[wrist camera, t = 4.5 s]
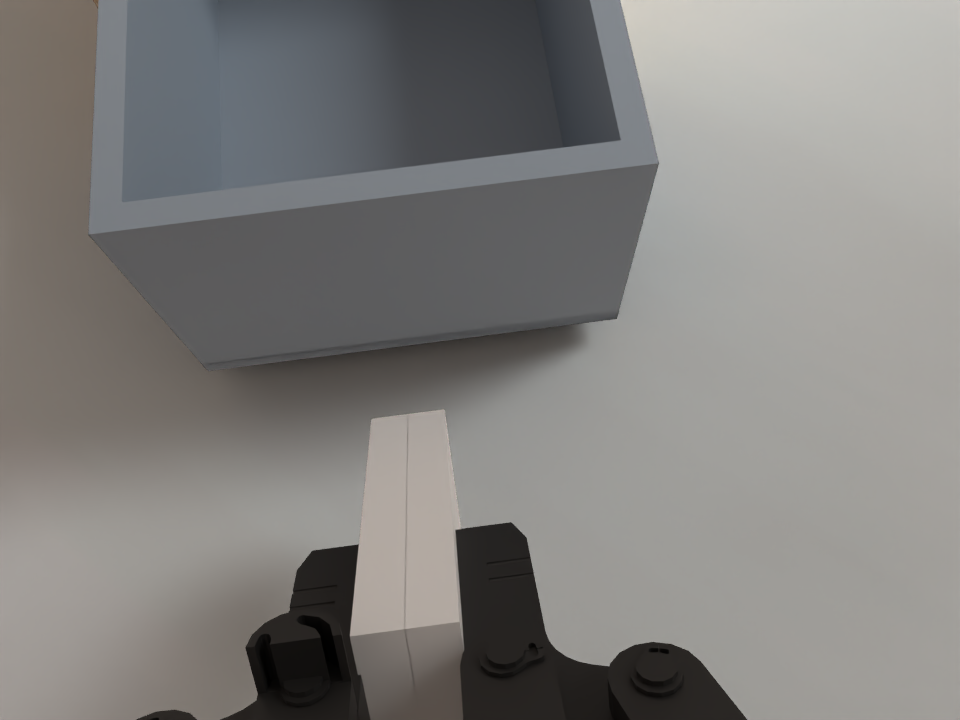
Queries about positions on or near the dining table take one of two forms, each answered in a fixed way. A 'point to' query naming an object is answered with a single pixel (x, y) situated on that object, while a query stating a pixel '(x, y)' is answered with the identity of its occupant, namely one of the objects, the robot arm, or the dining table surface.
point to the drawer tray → (367, 169)
